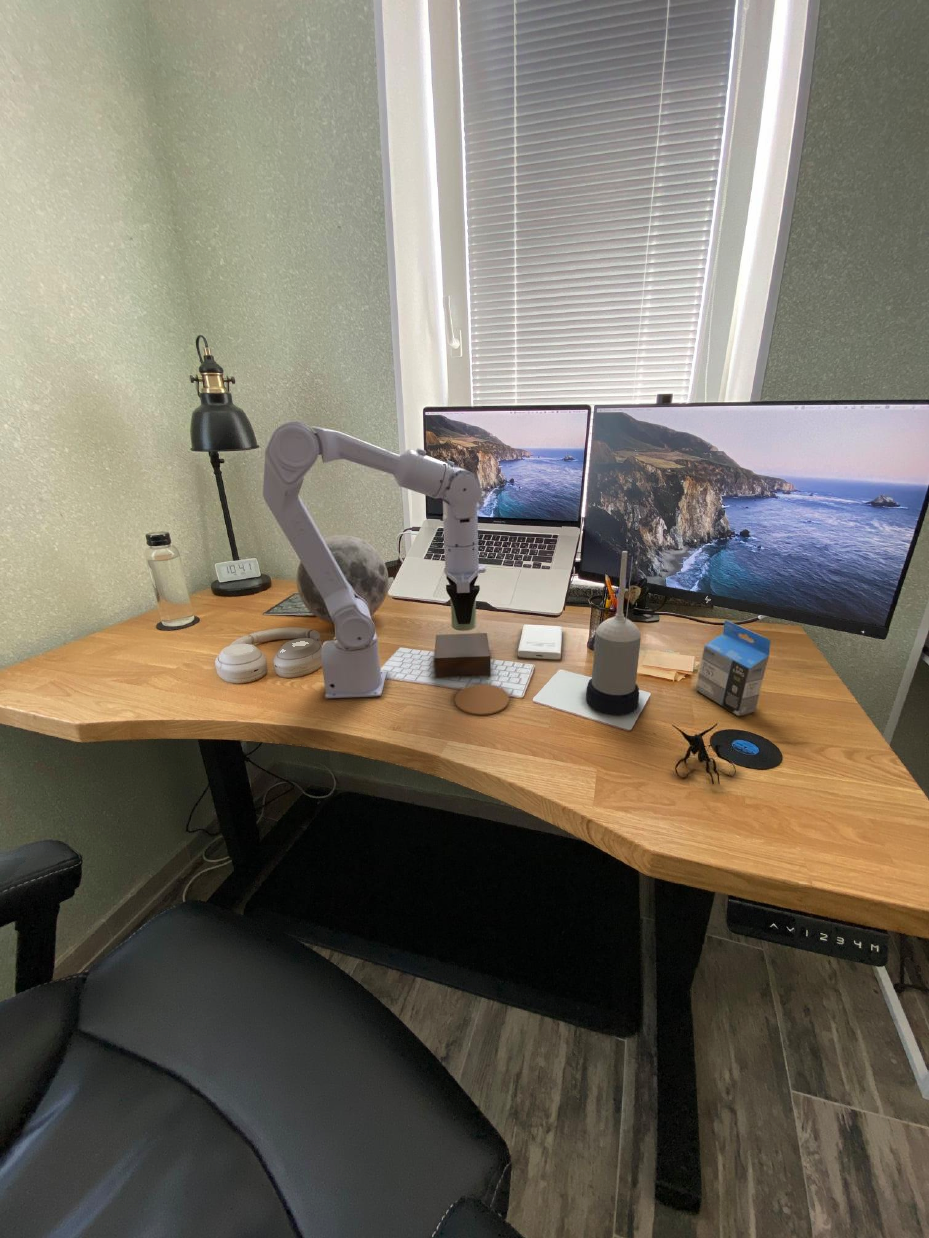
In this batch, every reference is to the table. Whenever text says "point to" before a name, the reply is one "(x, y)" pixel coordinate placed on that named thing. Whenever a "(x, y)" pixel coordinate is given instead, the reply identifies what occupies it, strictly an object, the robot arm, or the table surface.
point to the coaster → (481, 699)
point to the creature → (701, 752)
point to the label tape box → (734, 669)
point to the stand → (462, 655)
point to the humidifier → (615, 660)
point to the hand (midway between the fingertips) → (463, 617)
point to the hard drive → (540, 642)
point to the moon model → (348, 575)
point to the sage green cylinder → (463, 626)
